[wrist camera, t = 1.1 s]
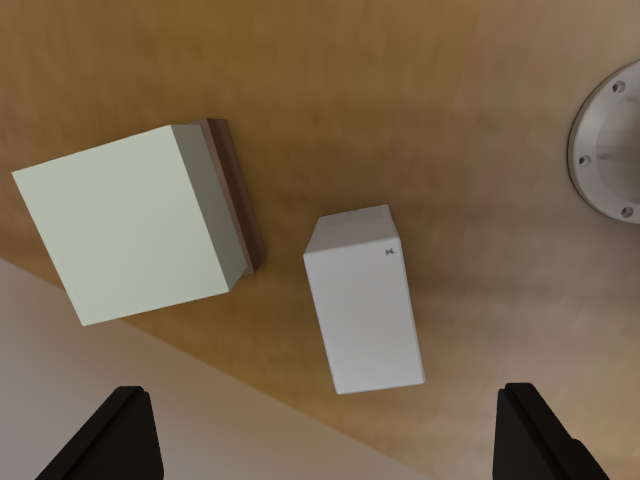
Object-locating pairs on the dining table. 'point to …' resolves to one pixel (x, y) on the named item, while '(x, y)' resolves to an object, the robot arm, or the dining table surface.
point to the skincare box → (363, 301)
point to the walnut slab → (233, 190)
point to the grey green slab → (135, 223)
